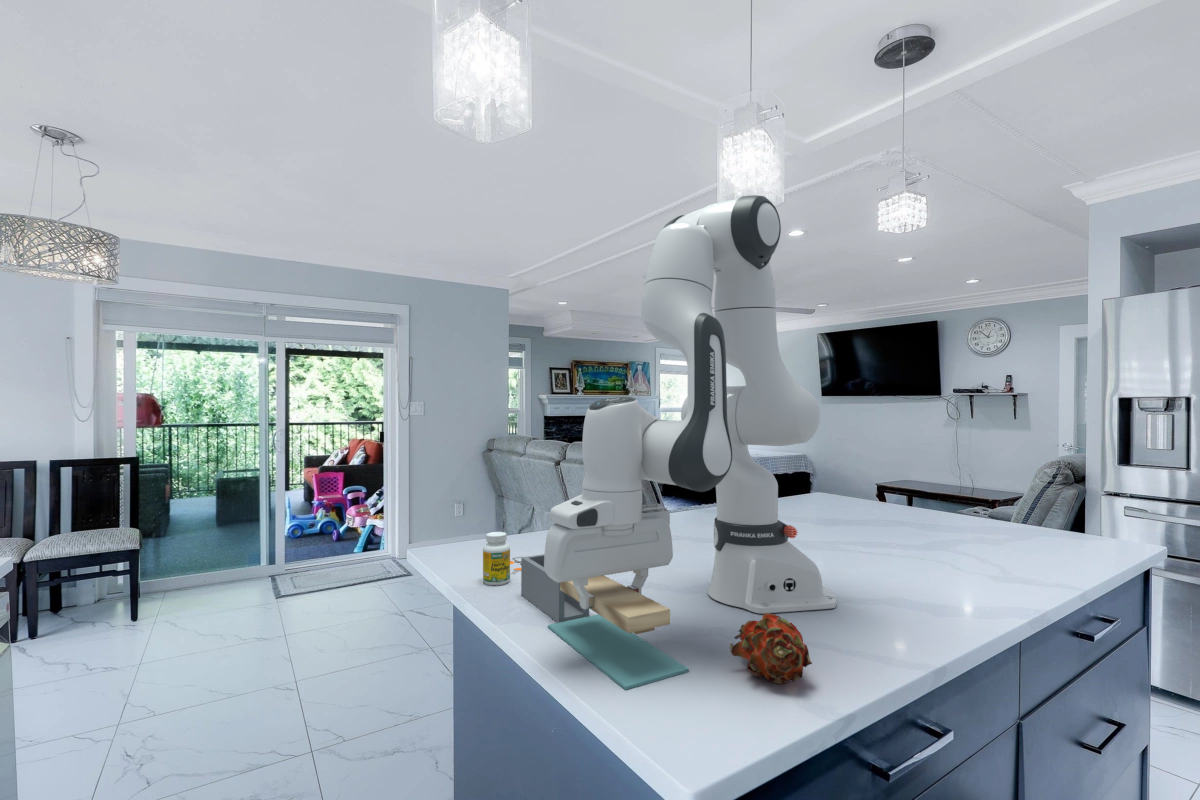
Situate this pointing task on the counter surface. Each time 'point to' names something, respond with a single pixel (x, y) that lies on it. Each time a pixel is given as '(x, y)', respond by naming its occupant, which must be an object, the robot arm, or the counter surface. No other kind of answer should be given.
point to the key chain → (515, 568)
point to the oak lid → (622, 605)
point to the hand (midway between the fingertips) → (611, 603)
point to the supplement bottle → (496, 559)
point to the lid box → (547, 592)
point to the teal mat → (617, 651)
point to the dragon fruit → (772, 649)
